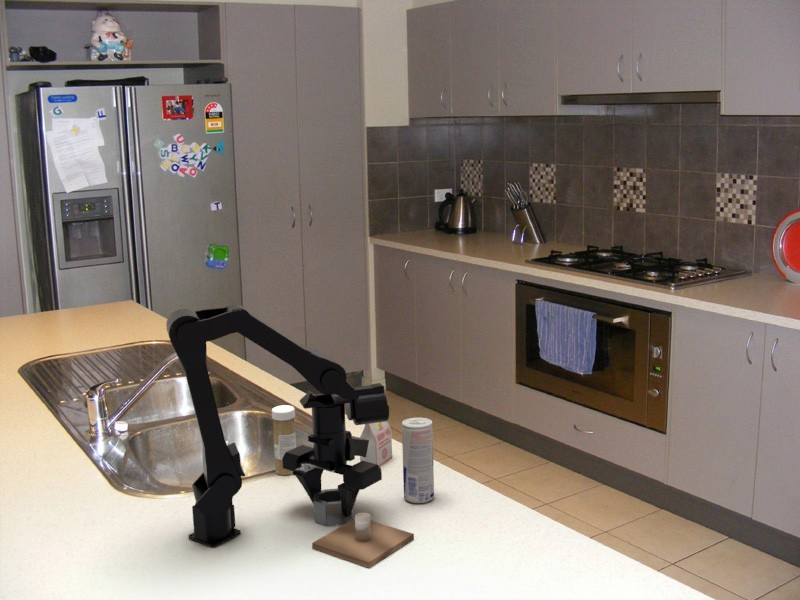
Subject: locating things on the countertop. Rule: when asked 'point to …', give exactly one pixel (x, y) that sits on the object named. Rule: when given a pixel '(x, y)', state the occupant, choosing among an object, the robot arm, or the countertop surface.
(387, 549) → the brown peg base
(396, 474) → the countertop surface
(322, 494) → the ring
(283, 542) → the countertop surface
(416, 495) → the beverage can
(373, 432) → the mini juice carton
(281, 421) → the sprinkles bottle
